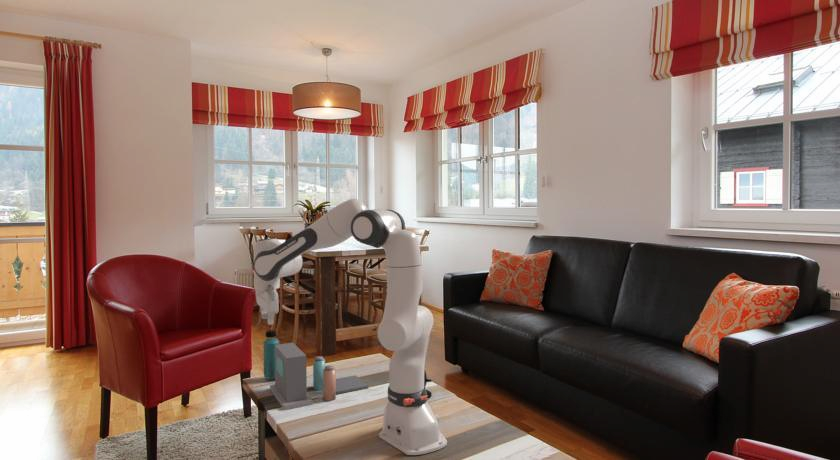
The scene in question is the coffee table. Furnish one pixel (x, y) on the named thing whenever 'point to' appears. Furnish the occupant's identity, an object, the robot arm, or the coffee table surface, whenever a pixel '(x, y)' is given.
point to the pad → (349, 384)
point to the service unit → (290, 377)
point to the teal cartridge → (318, 372)
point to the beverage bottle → (270, 354)
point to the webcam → (425, 384)
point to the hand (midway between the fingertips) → (267, 321)
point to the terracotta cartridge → (329, 383)
